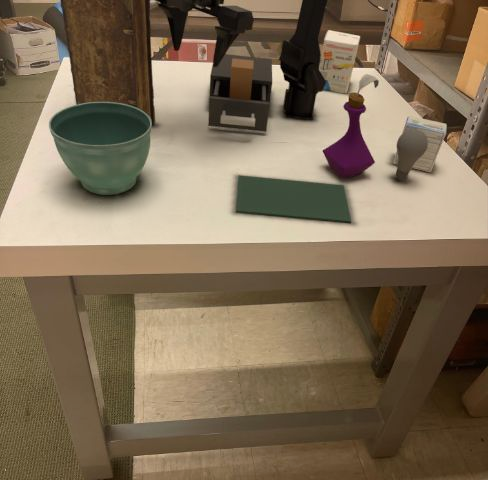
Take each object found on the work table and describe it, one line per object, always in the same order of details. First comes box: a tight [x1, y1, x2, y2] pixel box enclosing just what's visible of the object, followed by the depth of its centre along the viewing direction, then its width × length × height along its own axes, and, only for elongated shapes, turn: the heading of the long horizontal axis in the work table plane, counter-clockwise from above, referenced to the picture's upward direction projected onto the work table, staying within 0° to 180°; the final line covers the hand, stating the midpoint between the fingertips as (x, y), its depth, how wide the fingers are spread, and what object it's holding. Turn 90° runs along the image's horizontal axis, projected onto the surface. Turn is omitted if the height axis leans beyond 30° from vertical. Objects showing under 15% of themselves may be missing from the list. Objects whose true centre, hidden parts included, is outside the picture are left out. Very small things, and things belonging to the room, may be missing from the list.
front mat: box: [235, 174, 352, 224], centre depth 89 cm, size 20×12×1 cm, turn 88°
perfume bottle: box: [322, 73, 380, 179], centre depth 91 cm, size 8×8×18 cm
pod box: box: [229, 58, 254, 100], centre depth 106 cm, size 4×5×10 cm
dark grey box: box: [209, 53, 273, 104], centre depth 115 cm, size 15×14×8 cm
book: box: [59, 0, 156, 126], centre depth 96 cm, size 17×7×25 cm, turn 62°
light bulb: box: [394, 129, 428, 181], centre depth 94 cm, size 6×6×10 cm
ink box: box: [319, 29, 361, 94], centre depth 126 cm, size 9×8×12 cm
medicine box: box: [392, 115, 448, 173], centre depth 100 cm, size 8×4×9 cm, turn 71°
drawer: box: [207, 80, 271, 133], centre depth 106 cm, size 18×12×6 cm
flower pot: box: [48, 102, 153, 196], centre depth 84 cm, size 16×16×11 cm
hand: (195, 58), depth 93 cm, fingers open, 9 cm apart
